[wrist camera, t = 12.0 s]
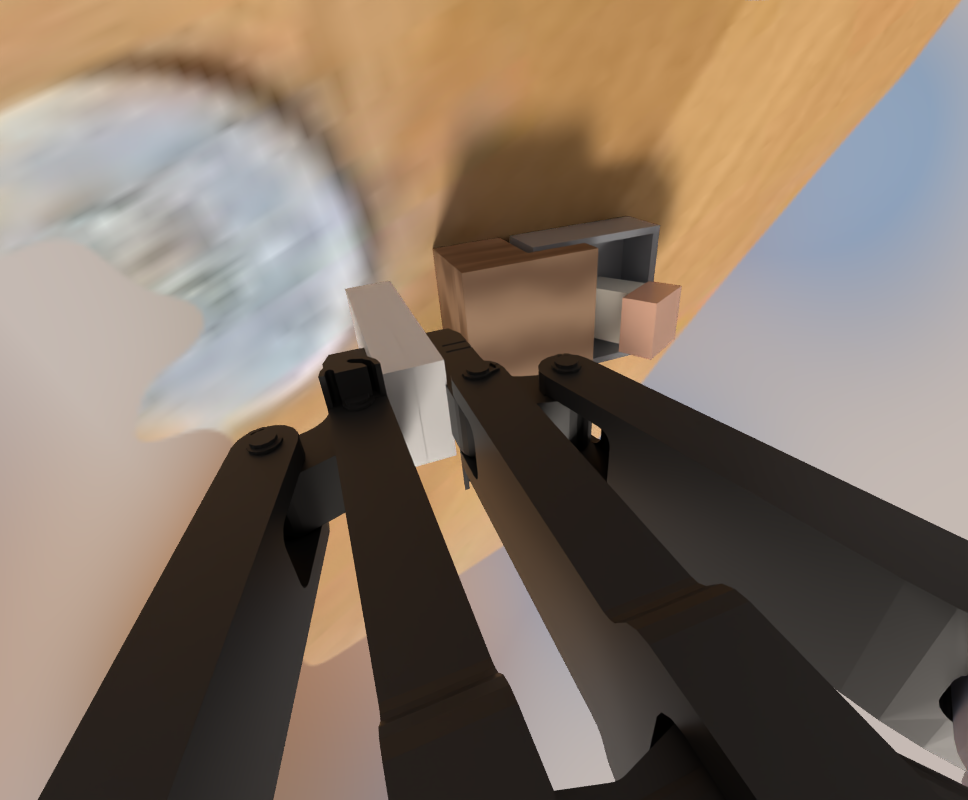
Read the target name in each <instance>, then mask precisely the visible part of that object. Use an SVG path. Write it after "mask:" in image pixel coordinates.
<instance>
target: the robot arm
mask: <svg viewBox="0 0 968 800" xmlns="http://www.w3.org/2000/svg"><path fill="white" fill-rule="evenodd" d="M345 291H346V295H347V299H348V304H349V308H350V312H351V317H352V321H353V325H354V329H355V334H356V338H357V342H358V347H359V349H355V350H350V351H345V352H341V353H336V354H331V355H328V357H327V358H326V360H325V361H324V363H323V364H322V365H323V369H322V370H321V371H320V373H319V376H318V378H319V381H320V384H321V388H322V391H323V395H324V398H325V402H326V405H327V408H328V413H329V414H328V416H327V418H326V419H325V420H324V421H323V422H322V423H320V424H319V425H318V426H316V427H315V428H313V429H311V430H309V431H307V432H305V433H302V434H300V435H299V434H298V432H297V431H296V430H295V429H294V428H292V427H289V426H285V425H273V426H268V427H262V428H259V429H256V430H253V431H251V432H249V433H248V434H246V435H245V436H243V437H242V438H240V439H239V440H238V441H237V442H236V443H235V444H234V445H233V446H232V448H231V449H230V451H229V453H228V455H227V457H226V458H225V460H224V462H223V464H222V466H221V468H220V469H219V471H218V473H217V475H216V477H215V478H214V480H213V482H212V484H211V486H210V487H209V489H208V491H207V493H206V495H205V497H204V498H203V500H202V502H201V504H200V506H199V507H198V509H197V511H196V513H195V515H194V517H193V519H192V520H191V522H190V524H189V526H188V528H187V530H186V531H185V533H184V535H183V537H182V538H181V541H180V542H179V544H178V546H177V547H176V549H175V551H174V553H173V555H172V557H171V558H170V560H169V562H168V564H167V566H166V567H165V569H164V571H163V573H162V575H161V577H160V578H159V580H158V582H157V584H156V586H155V587H154V589H153V591H152V593H151V595H150V597H149V598H148V600H147V602H146V604H145V606H144V608H143V609H142V611H141V613H140V615H139V617H138V619H137V620H136V622H135V624H134V626H133V628H132V629H131V631H130V633H129V635H128V637H127V638H126V640H125V642H124V644H123V646H122V647H121V649H120V651H119V653H118V655H117V657H116V659H115V660H114V662H113V664H112V666H111V667H110V669H109V671H108V673H107V675H106V677H105V678H104V680H103V682H102V684H101V686H100V687H99V689H98V691H97V693H96V695H95V697H94V698H93V700H92V702H91V704H90V706H89V708H88V709H87V711H86V713H85V715H84V717H83V718H82V720H81V722H80V724H79V726H78V728H77V729H76V731H75V733H74V735H73V737H72V738H71V740H70V742H69V744H68V746H67V747H66V749H65V751H64V753H63V755H62V757H61V759H60V760H59V762H58V764H57V766H56V767H55V769H54V771H53V773H52V775H51V777H50V779H49V780H48V782H47V784H46V786H45V788H44V789H43V791H42V793H41V795H40V797H39V798H38V800H273V798H274V793H275V789H276V784H277V779H278V775H279V770H280V765H281V760H282V756H283V751H284V746H285V741H286V736H287V731H288V727H289V722H290V718H291V713H292V708H293V703H294V698H295V693H296V689H297V684H298V679H299V675H300V670H301V665H302V661H303V656H304V651H305V646H306V642H307V637H308V632H309V627H310V623H311V618H312V613H313V608H314V604H315V599H316V594H317V589H318V585H319V580H320V575H321V570H322V566H323V561H324V556H325V551H326V546H327V542H328V537H329V532H330V530H329V521H331V520H333V519H334V518H336V517H338V516H340V515H342V514H343V513H345V512H346V518H347V524H348V529H349V535H350V541H351V547H352V553H353V558H354V564H355V570H356V576H357V582H358V588H359V593H360V599H361V605H362V611H363V617H364V622H365V628H366V634H367V640H368V646H369V651H370V657H371V663H372V669H373V675H374V680H375V686H376V692H377V698H378V704H379V710H380V720H381V722H380V725H379V741H380V749H381V756H382V763H383V769H384V775H385V781H386V787H387V793H388V800H968V540H966V539H964V538H961V537H959V536H957V535H955V534H953V533H951V532H949V531H947V530H945V529H943V528H941V527H939V526H936V525H934V524H932V523H930V522H928V521H926V520H924V519H922V518H920V517H918V516H915V515H913V514H911V513H909V512H907V511H905V510H903V509H901V508H899V507H897V506H895V505H893V504H890V503H888V502H886V501H884V500H882V499H880V498H878V497H876V496H874V495H872V494H870V493H868V492H865V491H863V490H861V489H859V488H857V487H855V486H853V485H851V484H849V483H847V482H845V481H842V480H840V479H838V478H836V477H834V476H832V475H830V474H827V473H826V472H824V471H822V470H819V469H817V468H815V467H813V466H811V465H809V464H807V463H805V462H803V461H800V460H799V459H797V458H794V457H792V456H790V455H788V454H786V453H784V452H782V451H780V450H778V449H776V448H774V447H772V446H769V445H767V444H765V443H763V442H761V441H759V440H757V439H755V438H753V437H751V436H749V435H746V434H744V433H742V432H740V431H738V430H736V429H734V428H732V427H730V426H728V425H726V424H724V423H721V422H719V421H717V420H715V419H713V418H711V417H709V416H707V415H705V414H703V413H701V412H698V411H696V410H694V409H692V408H690V407H688V406H686V405H684V404H682V403H680V402H678V401H675V400H673V399H671V398H669V397H667V396H665V395H663V394H661V393H659V392H657V391H655V390H653V389H650V388H648V387H646V386H644V385H642V384H640V383H638V382H636V381H634V380H632V379H630V378H628V377H625V376H623V375H621V374H619V373H617V372H615V371H613V370H611V369H609V368H607V367H605V366H602V365H600V364H598V363H596V362H594V361H592V360H590V359H588V358H585V357H582V356H579V355H573V354H569V353H563V354H556V355H554V356H550V357H547V358H546V359H544V360H542V361H541V362H540V364H539V365H538V375H531V376H511V375H510V373H509V372H508V371H507V370H506V369H505V368H504V367H503V366H502V365H500V364H499V363H496V362H492V361H484V360H483V359H482V358H481V357H480V356H479V355H478V354H477V352H476V351H475V350H474V349H473V348H472V347H471V345H470V344H469V343H468V342H467V341H466V339H465V338H464V337H463V336H462V335H461V333H459V332H456V331H454V330H452V329H449V328H447V329H442V330H438V331H433V332H428V333H425V331H424V330H423V329H422V327H421V326H420V324H419V323H418V321H417V320H416V318H415V317H414V315H413V314H412V312H411V311H410V309H409V308H408V306H407V305H406V304H405V302H404V301H403V299H402V298H401V296H400V295H399V293H398V292H397V290H396V289H395V287H394V286H393V284H392V283H391V282H390V281H386V282H381V283H375V284H370V285H364V286H359V287H353V288H348V289H345ZM592 423H593V424H595V425H597V426H598V427H599V428H601V439H597V438H596V437H594V436H592V435H591V428H592ZM455 440H456V442H457V444H458V446H459V448H460V453H461V461H462V469H463V476H464V484H465V490H467V489H470V487H469V481H470V482H471V484H472V485H473V487H474V489H475V491H476V493H477V495H478V497H479V499H480V501H481V503H482V505H483V507H484V509H485V510H486V512H487V514H488V516H489V518H490V520H491V522H492V524H493V526H494V528H495V530H496V532H497V533H498V535H499V537H500V539H501V541H502V543H503V545H504V547H505V549H506V551H507V553H508V555H509V557H510V558H511V560H512V562H513V564H514V566H515V568H516V570H517V572H518V574H519V576H520V578H521V579H522V581H523V583H524V585H525V587H526V589H527V591H528V593H529V595H530V597H531V599H532V601H533V602H534V604H535V606H536V608H537V610H538V612H539V614H540V616H541V618H542V620H543V622H544V624H545V626H546V628H547V629H548V631H549V633H550V635H551V637H552V639H553V641H554V642H555V645H556V647H557V649H558V651H559V652H560V654H561V656H562V658H563V660H564V662H565V664H566V666H567V668H568V670H569V672H570V673H571V676H572V677H573V679H574V681H575V683H576V685H577V687H578V689H579V691H580V693H581V695H582V696H583V698H584V700H585V702H586V704H587V706H588V708H589V710H590V712H591V714H592V716H593V718H594V720H595V722H596V724H597V726H598V729H599V731H600V734H601V736H602V740H603V744H604V748H605V752H606V755H607V759H608V762H609V765H610V768H611V770H612V773H613V776H614V778H615V782H611V783H605V784H599V785H591V786H584V787H577V788H570V789H564V790H557V791H554V790H553V788H552V785H551V783H550V781H549V778H548V776H547V773H546V771H545V768H544V766H543V763H542V761H541V759H540V756H539V754H538V751H537V749H536V746H535V744H534V742H533V739H532V737H531V734H530V732H529V729H528V727H527V724H526V722H525V720H524V717H523V715H522V712H521V710H520V707H519V705H518V703H517V700H516V698H515V696H514V694H513V691H512V689H511V687H510V685H509V683H508V681H507V680H506V678H505V677H504V675H503V674H501V673H498V671H497V670H496V668H495V666H494V664H493V662H492V659H491V657H490V654H489V652H488V649H487V647H486V644H485V642H484V639H483V637H482V634H481V632H480V629H479V627H478V624H477V622H476V619H475V616H474V614H473V611H472V609H471V606H470V604H469V601H468V599H467V596H466V594H465V591H464V589H463V586H462V584H461V581H460V579H459V576H458V573H457V571H456V568H455V566H454V563H453V561H452V558H451V556H450V553H449V551H448V548H447V546H446V543H445V540H444V538H443V535H442V533H441V530H440V528H439V525H438V523H437V520H436V518H435V515H434V513H433V510H432V508H431V505H430V503H429V500H428V497H427V495H426V492H425V490H424V487H423V485H422V482H421V480H420V477H419V475H418V472H417V470H416V467H417V466H420V465H424V464H427V463H431V462H434V461H438V460H441V459H445V458H448V457H452V456H455V455H457V454H456V447H455ZM835 689H836V690H838V691H839V692H840V693H842V694H843V695H844V696H846V697H847V698H849V699H850V700H851V701H853V702H854V703H856V704H857V705H858V706H860V707H861V708H862V709H864V710H865V711H867V712H868V713H869V714H871V715H872V716H873V717H875V718H876V719H878V720H879V721H881V722H882V723H884V724H886V725H887V726H889V727H890V728H892V729H893V730H895V731H897V732H898V733H900V734H901V735H903V736H905V737H906V738H908V739H909V740H911V741H913V742H914V743H916V744H917V745H919V746H921V747H922V748H924V749H926V750H927V751H929V752H931V753H933V754H935V755H937V756H939V757H940V758H942V759H944V760H946V761H948V762H950V763H951V764H953V765H955V766H957V767H959V768H961V769H962V770H964V771H966V772H965V773H964V777H963V779H962V784H960V783H958V782H956V781H954V780H952V779H950V778H948V777H946V776H944V775H942V774H940V773H938V772H936V771H934V770H931V769H929V768H927V767H925V766H923V765H921V764H919V763H917V762H915V761H913V760H911V759H909V758H907V757H905V756H903V755H901V754H899V753H897V752H895V750H894V749H893V748H892V747H891V746H890V745H889V744H888V743H887V742H886V741H885V740H884V739H883V738H882V737H881V736H880V735H879V734H878V733H877V732H876V731H875V730H874V729H873V728H872V727H871V726H870V725H869V724H868V723H867V721H866V720H865V719H864V718H863V717H862V716H860V714H859V713H858V712H857V711H856V710H855V709H854V708H853V707H852V706H851V705H850V704H849V703H848V702H847V701H846V700H845V699H844V698H843V697H842V696H841V695H840V694H839V693H838V692H837V691H836V690H835Z"/></svg>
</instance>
